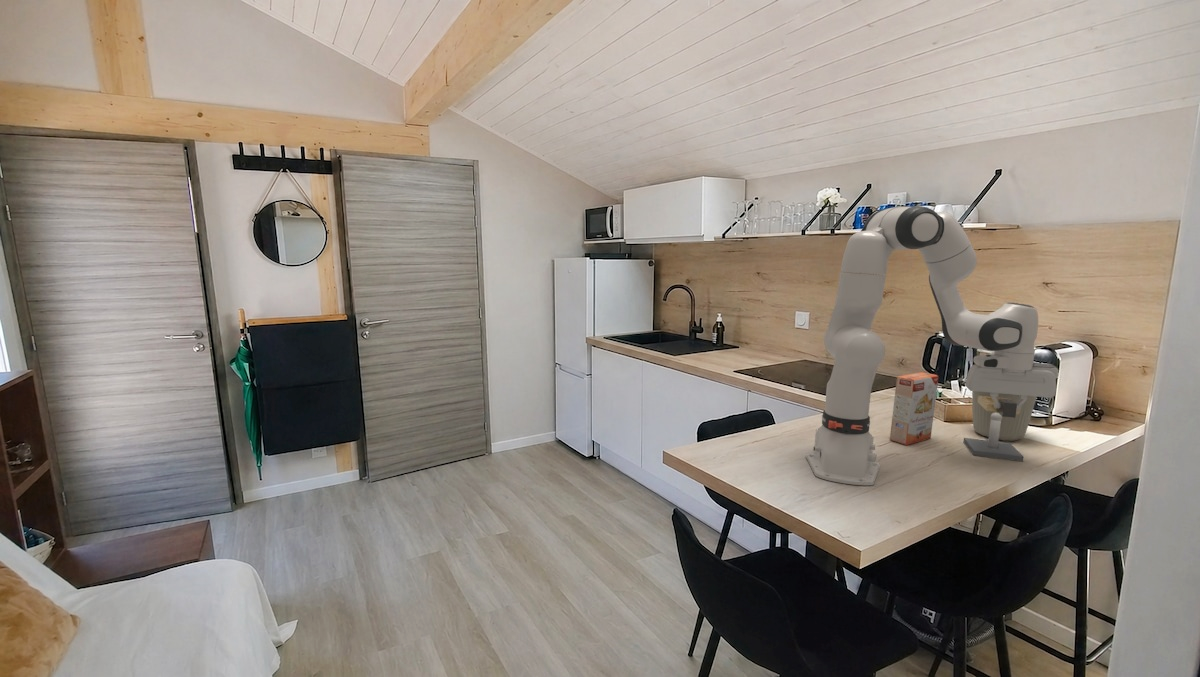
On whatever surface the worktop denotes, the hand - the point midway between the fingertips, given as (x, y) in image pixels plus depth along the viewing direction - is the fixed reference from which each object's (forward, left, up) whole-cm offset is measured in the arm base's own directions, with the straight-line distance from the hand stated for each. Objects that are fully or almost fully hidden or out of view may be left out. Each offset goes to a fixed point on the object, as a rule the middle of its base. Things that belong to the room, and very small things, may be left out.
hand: (1006, 409), depth 152 cm
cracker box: (+9, +21, -15) cm, 28 cm away
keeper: (+7, 0, -15) cm, 17 cm away
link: (+5, 0, -2) cm, 5 cm away
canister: (+25, -6, -15) cm, 30 cm away
